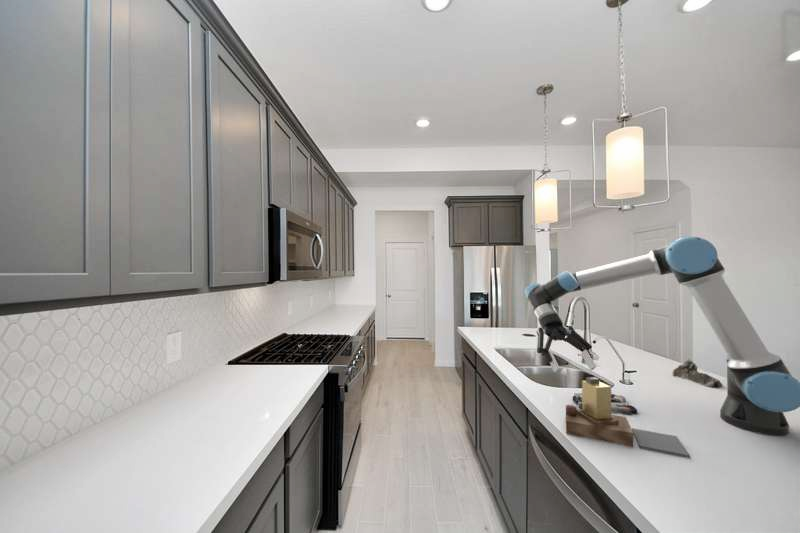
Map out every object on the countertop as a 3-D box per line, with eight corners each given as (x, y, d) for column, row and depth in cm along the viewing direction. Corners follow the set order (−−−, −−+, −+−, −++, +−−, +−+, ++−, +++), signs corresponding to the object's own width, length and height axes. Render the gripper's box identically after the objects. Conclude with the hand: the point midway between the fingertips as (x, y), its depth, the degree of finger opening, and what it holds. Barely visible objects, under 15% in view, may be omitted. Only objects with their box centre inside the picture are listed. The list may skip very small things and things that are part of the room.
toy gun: (621, 400, 126) (642, 418, 111) (567, 395, 129) (580, 412, 115) (622, 393, 125) (643, 410, 111) (567, 388, 129) (581, 404, 115)
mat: (676, 438, 96) (676, 436, 96) (690, 458, 86) (690, 455, 86) (631, 430, 101) (631, 428, 101) (639, 448, 91) (639, 445, 91)
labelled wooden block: (596, 413, 104) (596, 376, 104) (611, 422, 98) (611, 382, 98) (582, 415, 103) (582, 377, 103) (596, 424, 97) (596, 383, 97)
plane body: (625, 429, 102) (625, 408, 102) (633, 447, 91) (633, 424, 91) (565, 418, 109) (565, 399, 109) (566, 433, 99) (566, 412, 99)
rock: (666, 372, 155) (675, 354, 154) (686, 380, 155) (694, 361, 155) (702, 389, 137) (712, 368, 136) (724, 397, 137) (734, 376, 137)
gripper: (573, 323, 128) (602, 372, 113) (514, 324, 125) (537, 376, 110) (582, 311, 123) (614, 362, 108) (521, 313, 119) (546, 365, 104)
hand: (575, 369), depth 109 cm, fingers open, 13 cm apart
